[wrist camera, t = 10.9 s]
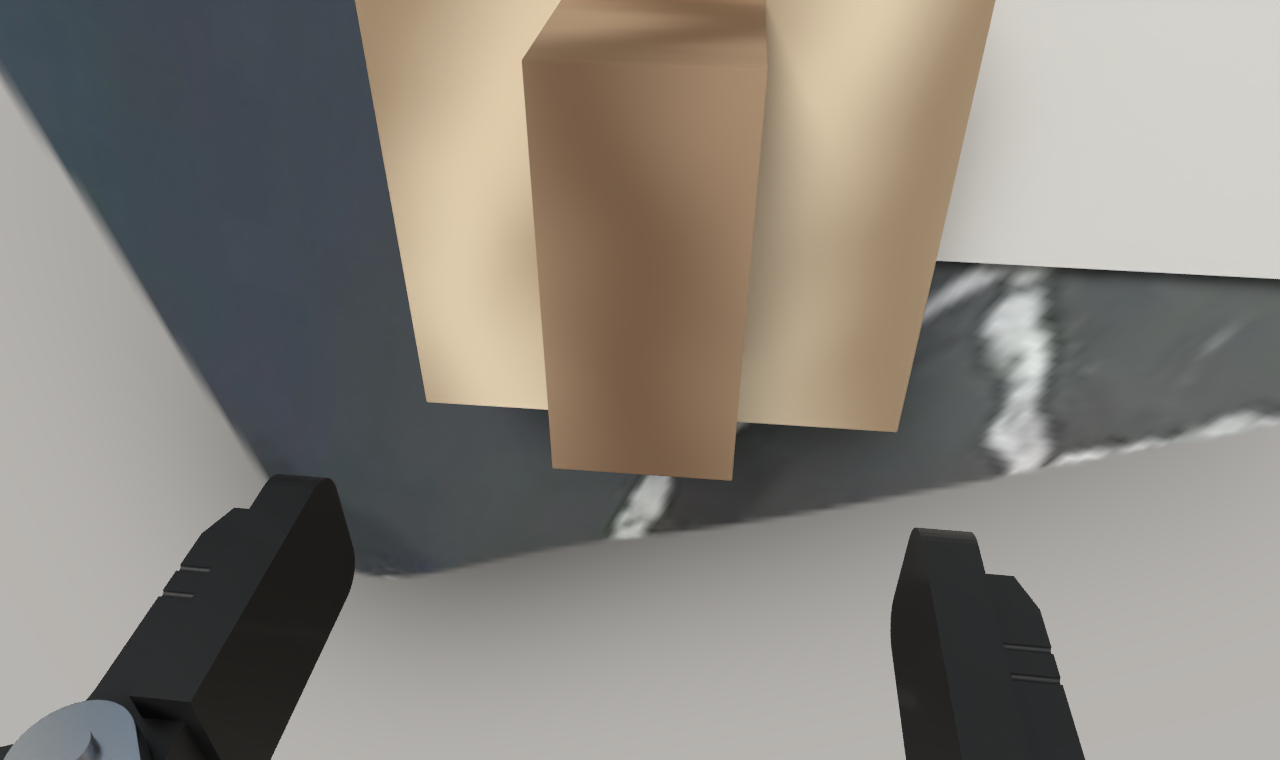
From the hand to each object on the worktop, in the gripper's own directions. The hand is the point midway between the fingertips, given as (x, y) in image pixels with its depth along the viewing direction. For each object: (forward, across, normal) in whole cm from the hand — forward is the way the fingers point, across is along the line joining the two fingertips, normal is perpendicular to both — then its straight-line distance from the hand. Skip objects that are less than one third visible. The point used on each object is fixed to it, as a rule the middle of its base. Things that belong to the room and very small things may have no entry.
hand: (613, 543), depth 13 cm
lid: (+11, 0, 0) cm, 11 cm away
